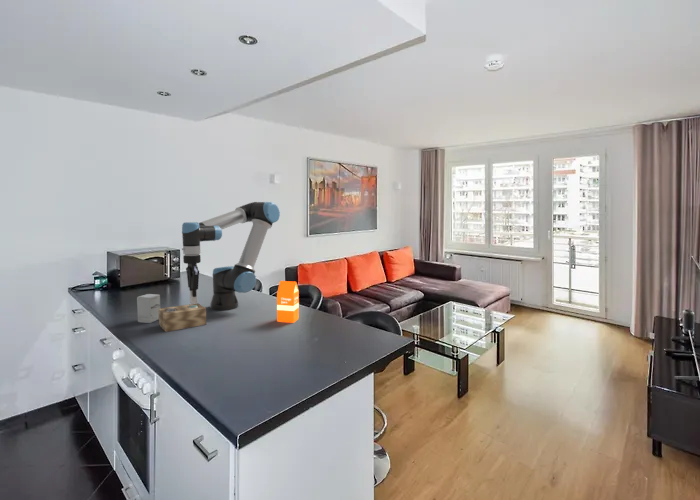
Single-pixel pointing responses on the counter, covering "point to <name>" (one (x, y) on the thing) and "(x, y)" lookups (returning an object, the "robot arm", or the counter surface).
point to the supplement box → (148, 308)
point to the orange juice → (287, 302)
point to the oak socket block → (182, 317)
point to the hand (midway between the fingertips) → (193, 302)
